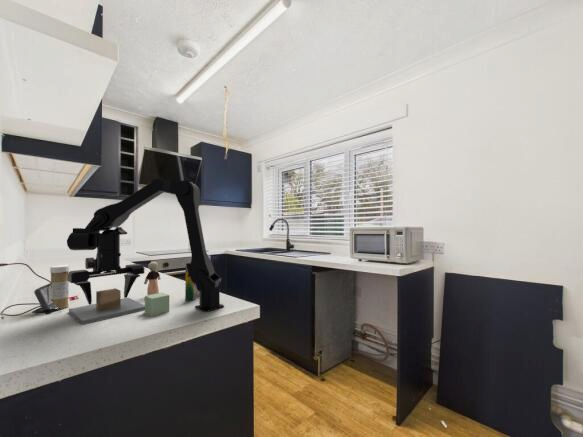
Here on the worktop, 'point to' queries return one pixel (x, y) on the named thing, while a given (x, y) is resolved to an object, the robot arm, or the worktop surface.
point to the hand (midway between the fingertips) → (108, 300)
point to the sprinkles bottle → (59, 285)
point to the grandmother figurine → (152, 279)
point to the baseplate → (105, 311)
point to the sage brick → (156, 304)
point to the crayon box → (190, 289)
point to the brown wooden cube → (108, 299)
